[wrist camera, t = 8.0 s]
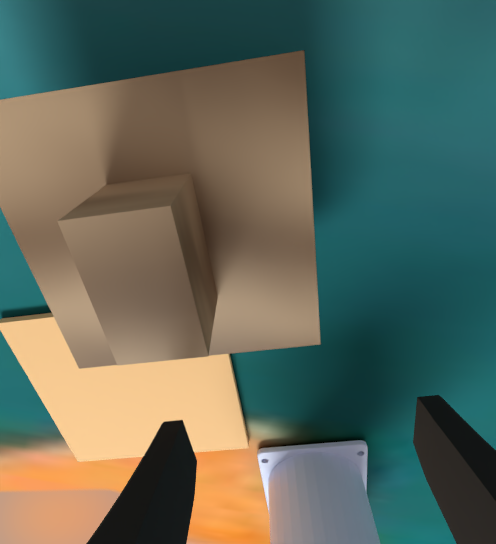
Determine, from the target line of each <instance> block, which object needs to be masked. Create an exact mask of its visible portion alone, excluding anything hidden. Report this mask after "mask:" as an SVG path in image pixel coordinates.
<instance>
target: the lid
mask: <svg viewBox="0 0 496 544" xmlns="http://www.w3.org/2000/svg"><path fill="white" fill-rule="evenodd" d="M0 207H1V210H2V212H3V214H4V216H5V218H6V220H7V222H8V224H9V226H10V228H11V230H12V232H13V234H14V236H15V238H16V240H17V242H18V244H19V246H20V248H21V251H22V253H23V255H24V257H25V259H26V261H27V263H28V265H29V267H30V269H31V271H32V273H33V275H34V277H35V279H36V281H37V283H38V285H39V287H40V289H41V292H42V294H43V296H44V298H45V300H46V302H47V304H48V306H49V308H50V310H51V312H52V314H53V316H54V318H55V320H56V322H57V324H58V326H59V328H60V330H61V333H62V335H63V337H64V339H65V341H66V343H67V345H68V347H69V349H70V351H71V353H72V355H73V357H74V359H75V361H76V363H77V365H78V367H79V369H82V368H92V367H102V366H112V365H128V364H138V363H148V362H158V361H168V360H178V359H188V358H198V357H208V356H211V355H221V354H231V353H241V352H251V351H261V350H270V349H280V348H290V347H300V346H310V345H320V344H321V342H320V324H319V306H318V288H317V270H316V252H315V234H314V216H313V198H312V180H311V162H310V144H309V126H308V108H307V90H306V72H305V54H304V50H302V51H296V52H290V53H284V54H278V55H272V56H266V57H260V58H253V59H247V60H241V61H235V62H229V63H223V64H217V65H211V66H205V67H198V68H192V69H186V70H180V71H174V72H168V73H162V74H156V75H150V76H143V77H137V78H131V79H125V80H119V81H113V82H107V83H101V84H95V85H88V86H82V87H76V88H70V89H64V90H58V91H52V92H46V93H40V94H33V95H27V96H21V97H15V98H9V99H3V100H0Z"/></svg>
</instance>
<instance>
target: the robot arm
mask: <svg viewBox="0 0 496 544" xmlns="http://www.w3.org/2000/svg"><path fill="white" fill-rule="evenodd" d="M413 443H414V446H415V449H416V452H417V455H418V458H419V461H420V463H421V466H422V469H423V472H424V474H425V477H426V480H427V482H428V484H429V486H430V488H431V490H432V492H433V495H434V497H435V499H436V501H437V503H438V505H439V507H440V509H441V511H442V514H443V516H444V518H445V520H446V522H447V524H448V526H449V528H450V530H451V532H452V535H453V537H454V539H455V541H456V543H457V544H496V450H495V449H494V448H492V447H491V446H490V445H489V444H488V443H487V442H486V441H485V440H484V439H483V438H482V437H481V436H480V435H479V434H478V433H477V432H476V431H475V430H474V429H473V428H472V427H471V426H470V425H469V424H468V423H467V422H466V421H465V420H464V419H463V418H462V417H461V416H460V415H459V414H458V413H457V412H456V411H455V410H454V409H453V408H452V407H451V406H450V405H449V404H448V403H447V402H446V401H445V400H444V399H443V398H442V397H440V396H439V395H435V396H425V397H417V407H416V418H415V428H414V439H413ZM367 455H368V447H367V444H366V442H365V441H362V440H355V441H343V442H331V443H318V444H306V445H294V446H281V447H269V448H261V449H259V450H258V452H257V457H258V462H259V467H260V472H261V477H262V482H263V487H264V491H265V496H266V501H267V506H268V511H269V520H270V544H380V541H379V537H378V533H377V530H376V526H375V522H374V519H373V515H372V511H371V508H370V504H369V501H368V497H367V493H366V491H367ZM196 467H197V460H196V457H195V454H194V451H193V448H192V445H191V443H190V440H189V437H188V434H187V431H186V428H185V425H184V422H183V420H176V421H166V422H163V423H162V424H161V426H160V428H159V430H158V432H157V433H156V435H155V437H154V439H153V441H152V442H151V444H150V446H149V448H148V449H147V451H146V453H145V455H144V456H143V458H142V460H141V461H140V463H139V465H138V467H137V468H136V470H135V472H134V473H133V475H132V476H131V478H130V480H129V481H128V483H127V485H126V486H125V488H124V489H123V491H122V493H121V494H120V496H119V497H118V499H117V500H116V502H115V503H114V505H113V506H112V508H111V509H110V511H109V512H108V514H107V515H106V517H105V518H104V520H103V521H102V523H101V524H100V526H99V527H98V528H97V530H96V531H95V533H94V534H93V535H92V537H91V538H90V540H89V541H88V542H87V544H186V541H187V536H188V530H189V525H190V519H191V513H192V507H193V501H194V494H195V482H196Z"/></svg>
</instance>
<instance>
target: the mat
mask: <svg viewBox="0 0 496 544" xmlns="http://www.w3.org/2000/svg"><path fill="white" fill-rule="evenodd" d="M0 330H1V332H2V334H3V335H4V337H5V339H6V340H7V342H8V344H9V346H10V347H11V349H12V351H13V352H14V354H15V356H16V357H17V359H18V361H19V362H20V364H21V366H22V368H23V369H24V371H25V373H26V374H27V376H28V378H29V379H30V381H31V383H32V385H33V386H34V388H35V390H36V391H37V393H38V395H39V396H40V398H41V400H42V402H43V403H44V405H45V407H46V408H47V410H48V412H49V413H50V415H51V417H52V418H53V420H54V422H55V424H56V425H57V427H58V429H59V430H60V432H61V434H62V435H63V437H64V439H65V441H66V442H67V444H68V446H69V447H70V449H71V451H72V452H73V454H74V456H75V458H76V459H77V461H78V462H82V461H94V460H107V459H119V458H131V457H143V456H144V455H145V453H146V451H147V449H148V448H149V446H150V444H151V442H152V441H153V439H154V437H155V435H156V433H157V432H158V430H159V428H160V426H161V424H162V423H163V422H166V421H176V420H183V422H184V425H185V428H186V431H187V434H188V437H189V440H190V443H191V445H192V448H193V451H194V452H205V451H218V450H230V449H242V448H249V440H248V435H247V431H246V426H245V422H244V417H243V412H242V408H241V403H240V398H239V394H238V389H237V384H236V380H235V375H234V370H233V366H232V361H231V357H230V354H221V355H211V356H208V357H198V358H188V359H178V360H168V361H158V362H148V363H138V364H128V365H112V366H102V367H92V368H82V369H79V367H78V365H77V363H76V361H75V359H74V357H73V355H72V353H71V351H70V349H69V347H68V345H67V343H66V341H65V339H64V337H63V335H62V333H61V330H60V328H59V326H58V324H57V322H56V320H55V318H54V316H53V314H52V313H45V314H36V315H27V316H19V317H10V318H2V319H1V320H0Z"/></svg>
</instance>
